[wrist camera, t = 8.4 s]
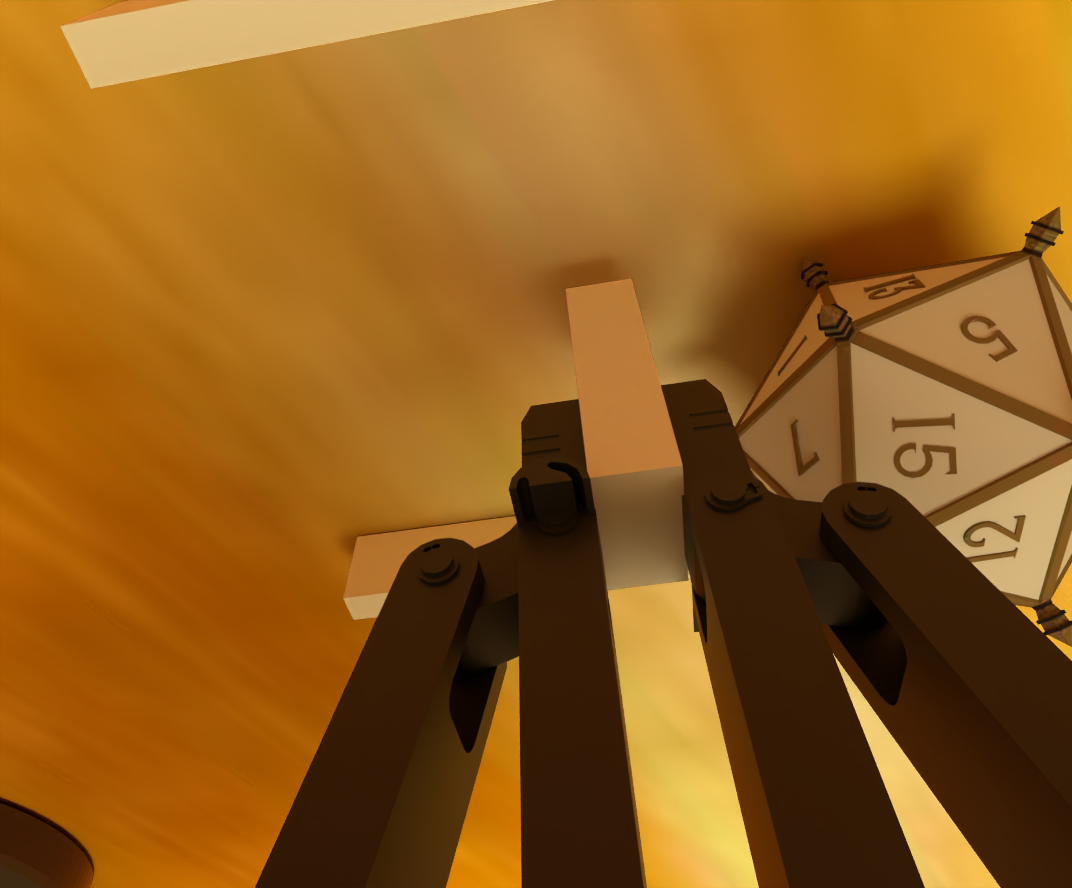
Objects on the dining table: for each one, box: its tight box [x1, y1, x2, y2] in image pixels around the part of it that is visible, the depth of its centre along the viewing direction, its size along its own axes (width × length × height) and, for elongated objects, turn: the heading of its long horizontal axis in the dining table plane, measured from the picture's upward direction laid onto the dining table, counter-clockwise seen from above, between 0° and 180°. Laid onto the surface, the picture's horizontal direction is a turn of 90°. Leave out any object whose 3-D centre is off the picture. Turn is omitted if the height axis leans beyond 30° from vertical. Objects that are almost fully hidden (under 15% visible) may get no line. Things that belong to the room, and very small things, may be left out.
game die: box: [735, 207, 1072, 647], centre depth 17 cm, size 9×8×10 cm
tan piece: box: [60, 0, 690, 620], centre depth 17 cm, size 25×16×4 cm, turn 99°
